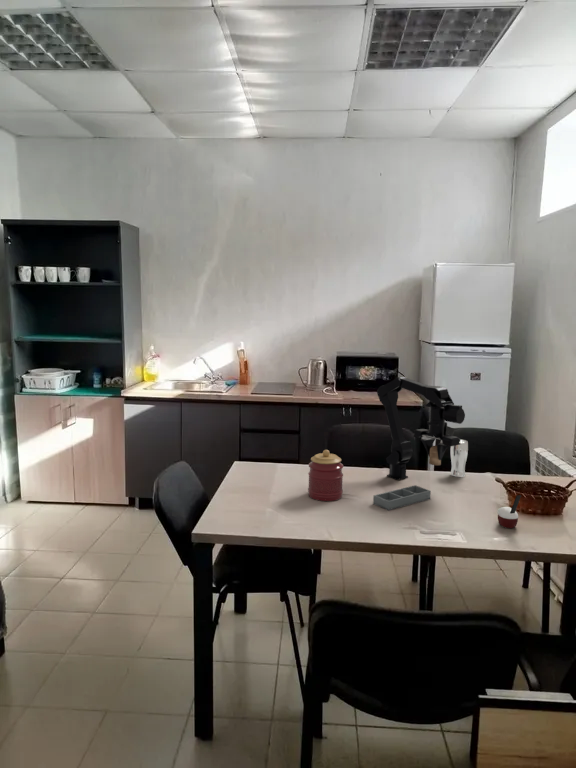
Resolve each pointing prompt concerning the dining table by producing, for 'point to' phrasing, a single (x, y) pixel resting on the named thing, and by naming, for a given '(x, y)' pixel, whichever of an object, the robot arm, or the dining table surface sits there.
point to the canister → (325, 477)
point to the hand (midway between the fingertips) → (435, 458)
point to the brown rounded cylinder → (434, 456)
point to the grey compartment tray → (401, 497)
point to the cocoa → (509, 514)
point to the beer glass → (459, 458)
